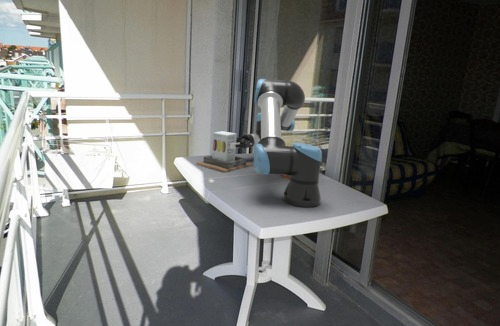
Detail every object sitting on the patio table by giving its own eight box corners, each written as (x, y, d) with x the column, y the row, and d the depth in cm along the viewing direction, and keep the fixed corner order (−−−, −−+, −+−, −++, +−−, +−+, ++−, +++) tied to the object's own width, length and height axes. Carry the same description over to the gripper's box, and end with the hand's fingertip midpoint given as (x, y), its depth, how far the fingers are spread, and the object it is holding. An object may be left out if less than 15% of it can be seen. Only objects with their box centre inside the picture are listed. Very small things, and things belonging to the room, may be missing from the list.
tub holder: (224, 172, 173) (224, 165, 172) (196, 164, 184) (196, 157, 183) (252, 165, 192) (253, 158, 191) (225, 158, 203) (225, 151, 202)
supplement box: (211, 163, 185) (212, 132, 181) (220, 160, 193) (222, 130, 189) (225, 166, 181) (227, 134, 177) (235, 163, 189) (237, 133, 184)
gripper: (265, 151, 190) (237, 155, 175) (234, 143, 207) (206, 146, 192) (266, 138, 189) (238, 141, 174) (235, 130, 205) (207, 132, 190)
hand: (221, 143), depth 183 cm, fingers open, 13 cm apart
